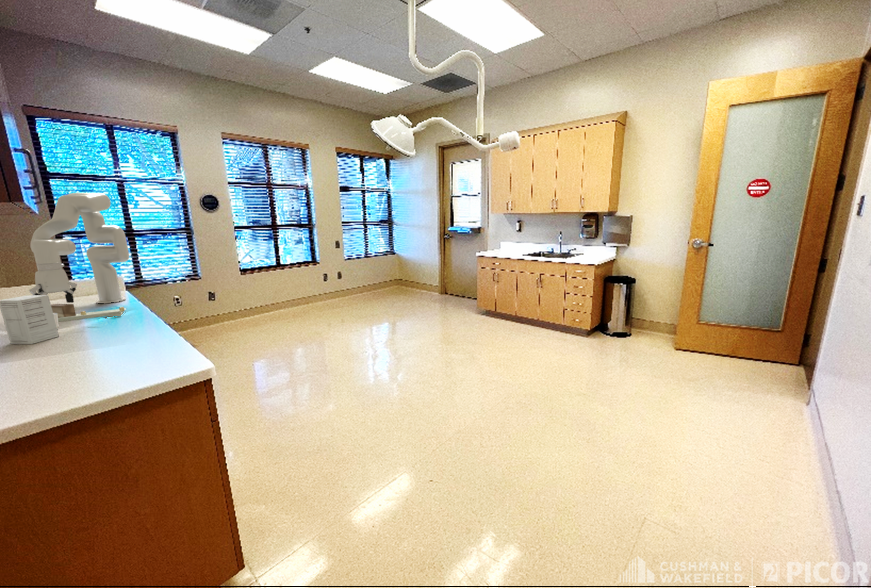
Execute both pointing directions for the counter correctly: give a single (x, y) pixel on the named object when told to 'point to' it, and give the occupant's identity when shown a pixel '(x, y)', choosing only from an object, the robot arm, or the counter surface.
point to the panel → (94, 314)
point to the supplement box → (28, 319)
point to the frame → (63, 310)
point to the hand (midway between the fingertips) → (58, 304)
